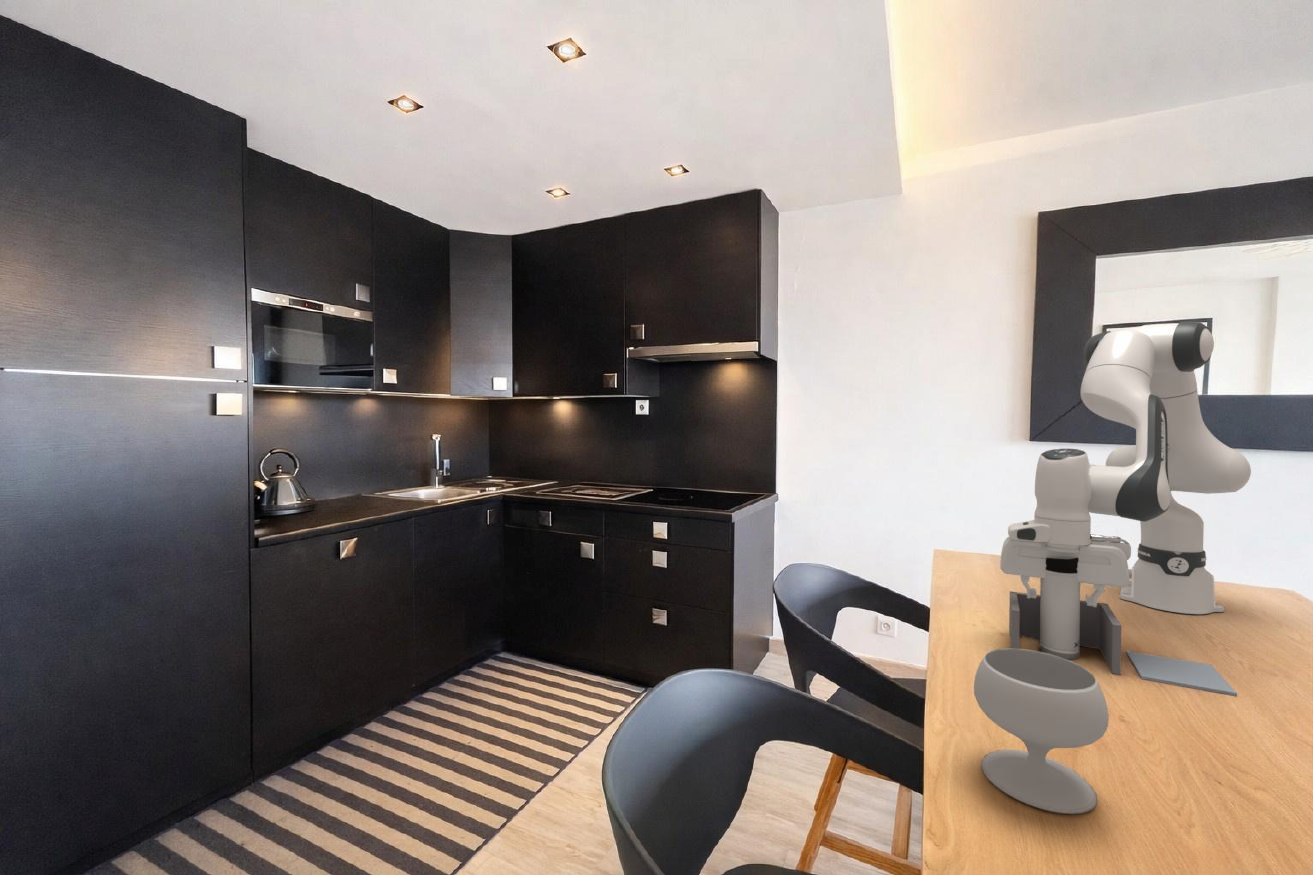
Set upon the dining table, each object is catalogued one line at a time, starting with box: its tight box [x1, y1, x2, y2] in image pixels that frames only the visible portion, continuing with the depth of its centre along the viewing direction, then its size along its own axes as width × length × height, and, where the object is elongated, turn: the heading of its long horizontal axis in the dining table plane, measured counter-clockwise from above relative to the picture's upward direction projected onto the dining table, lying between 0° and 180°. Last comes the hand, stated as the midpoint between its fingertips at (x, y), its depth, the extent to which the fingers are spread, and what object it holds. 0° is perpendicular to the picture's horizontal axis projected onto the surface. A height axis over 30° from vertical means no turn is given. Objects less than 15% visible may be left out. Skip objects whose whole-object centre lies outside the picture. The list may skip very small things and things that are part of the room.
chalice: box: [973, 647, 1110, 815], centre depth 69 cm, size 14×14×15 cm
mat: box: [1126, 650, 1238, 697], centre depth 98 cm, size 12×12×1 cm
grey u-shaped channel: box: [1008, 590, 1123, 676], centre depth 107 cm, size 13×16×9 cm
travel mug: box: [1039, 558, 1081, 660], centre depth 106 cm, size 6×7×20 cm
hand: (1060, 601), depth 106 cm, fingers open, 8 cm apart
